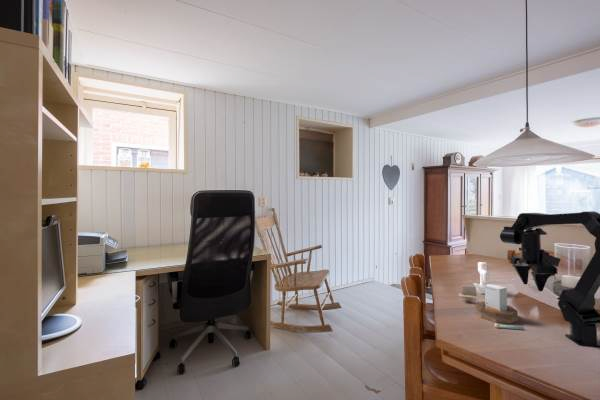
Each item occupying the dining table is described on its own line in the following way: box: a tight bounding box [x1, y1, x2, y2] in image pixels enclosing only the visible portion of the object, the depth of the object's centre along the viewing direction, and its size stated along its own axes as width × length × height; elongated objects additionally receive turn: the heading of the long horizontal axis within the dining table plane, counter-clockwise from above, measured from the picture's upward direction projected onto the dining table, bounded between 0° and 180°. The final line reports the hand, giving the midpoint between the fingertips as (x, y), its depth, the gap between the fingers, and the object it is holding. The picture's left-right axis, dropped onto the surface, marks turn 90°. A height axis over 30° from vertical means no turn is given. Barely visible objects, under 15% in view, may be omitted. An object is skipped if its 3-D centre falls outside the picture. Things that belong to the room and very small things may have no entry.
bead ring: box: [475, 301, 519, 324], centre depth 111 cm, size 12×12×4 cm
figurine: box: [473, 261, 490, 295], centre depth 139 cm, size 7×9×15 cm
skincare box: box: [484, 283, 508, 312], centre depth 110 cm, size 6×4×12 cm
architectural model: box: [458, 285, 478, 304], centre depth 126 cm, size 3×7×7 cm, turn 67°
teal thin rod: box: [494, 323, 525, 330], centre depth 100 cm, size 9×1×1 cm, turn 77°
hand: (532, 287), depth 105 cm, fingers open, 9 cm apart
